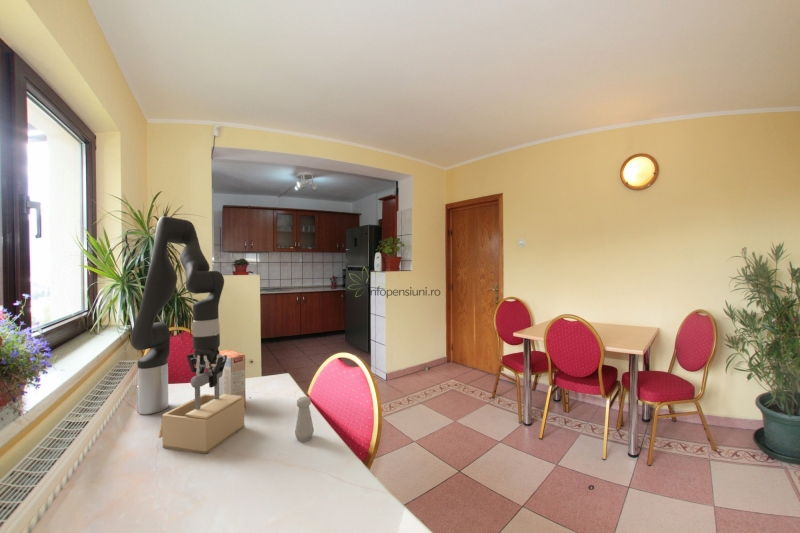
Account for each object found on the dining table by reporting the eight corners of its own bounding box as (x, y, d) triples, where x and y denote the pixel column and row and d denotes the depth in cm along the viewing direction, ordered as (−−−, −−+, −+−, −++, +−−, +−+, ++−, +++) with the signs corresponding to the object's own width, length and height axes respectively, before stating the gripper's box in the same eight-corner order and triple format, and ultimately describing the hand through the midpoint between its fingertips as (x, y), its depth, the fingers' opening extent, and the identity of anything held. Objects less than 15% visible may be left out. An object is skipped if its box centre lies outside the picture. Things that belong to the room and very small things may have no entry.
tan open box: (156, 446, 99) (156, 414, 99) (200, 421, 115) (199, 393, 114) (206, 454, 95) (205, 420, 95) (244, 426, 110) (243, 397, 110)
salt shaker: (317, 435, 105) (316, 395, 104) (306, 444, 99) (306, 403, 99) (302, 432, 106) (301, 393, 106) (291, 441, 101) (290, 400, 101)
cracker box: (246, 407, 125) (245, 354, 125) (230, 413, 120) (229, 358, 120) (230, 398, 134) (229, 348, 133) (214, 403, 129) (213, 351, 128)
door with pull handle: (182, 415, 97) (181, 379, 97) (221, 395, 112) (220, 364, 112) (206, 418, 95) (205, 381, 95) (242, 397, 110) (241, 365, 109)
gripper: (178, 334, 102) (179, 388, 102) (215, 336, 98) (216, 392, 99) (198, 329, 109) (199, 380, 109) (233, 331, 106) (234, 383, 106)
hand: (207, 385), depth 104 cm, fingers closed on door with pull handle, 3 cm apart
